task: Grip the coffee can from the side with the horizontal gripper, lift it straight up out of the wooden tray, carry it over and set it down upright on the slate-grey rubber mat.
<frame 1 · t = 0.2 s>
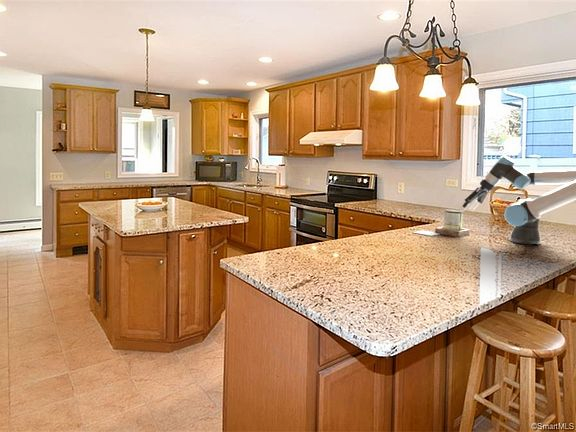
hand: (465, 210, 241), 15 cm above the worktop, tool tilted 35°, fingers open, 13 cm apart
coffee can: (452, 234, 249), resting in wooden tray
wooden tray: (452, 233, 249), on the worktop
rubber mat: (426, 233, 246), on the worktop
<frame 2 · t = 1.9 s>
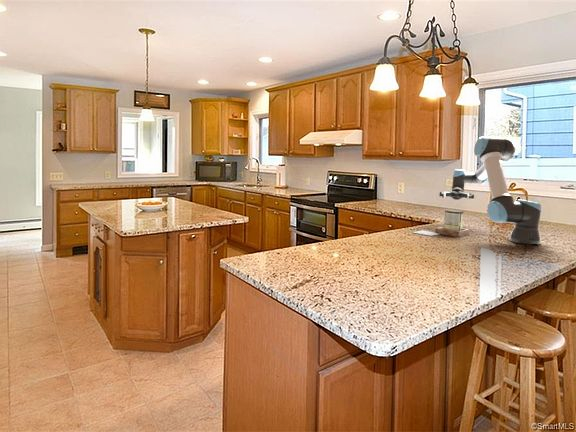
hand: (456, 196, 255), 22 cm above the worktop, tool horizontal, fingers open, 13 cm apart
nothing on the worktop moved.
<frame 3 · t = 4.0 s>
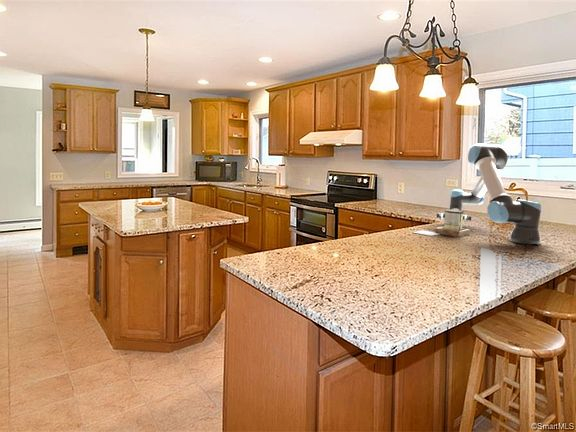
hand: (453, 218, 254), 8 cm above the worktop, tool horizontal, fingers open, 13 cm apart
nothing on the worktop moved.
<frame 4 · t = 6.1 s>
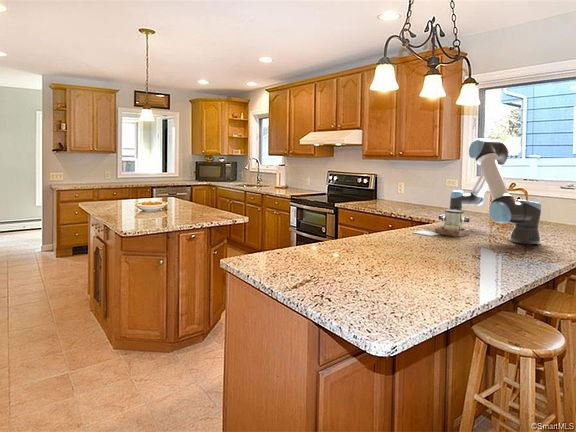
hand: (453, 220, 244), 9 cm above the worktop, tool horizontal, fingers closed on coffee can, 10 cm apart
coffee can: (452, 234, 249), resting in wooden tray, touching gripper
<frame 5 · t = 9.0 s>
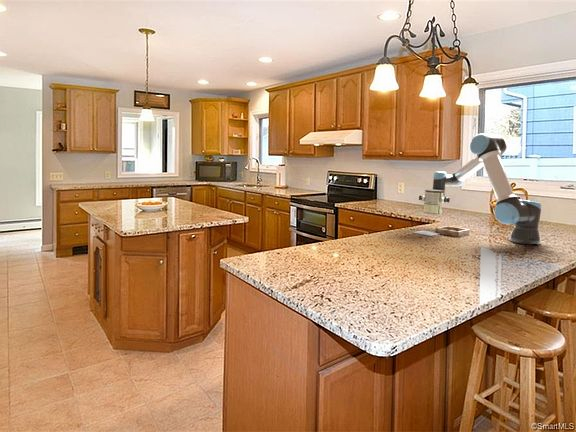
hand: (432, 200, 241), 20 cm above the worktop, tool horizontal, fingers closed on coffee can, 10 cm apart
coffee can: (432, 214, 246), point 12 cm above the worktop, touching gripper
when the fingers open (10 cm above the worktop, at t = 12.1 s): coffee can drops 1 cm, resting on rubber mat.
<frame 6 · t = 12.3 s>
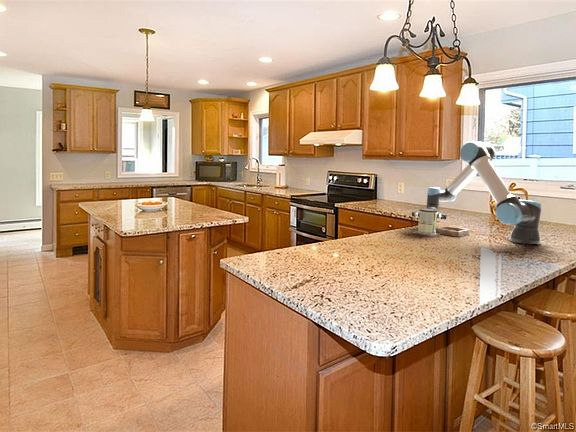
hand: (427, 217, 241), 10 cm above the worktop, tool horizontal, fingers open, 12 cm apart
coffee can: (426, 233, 246), resting on rubber mat
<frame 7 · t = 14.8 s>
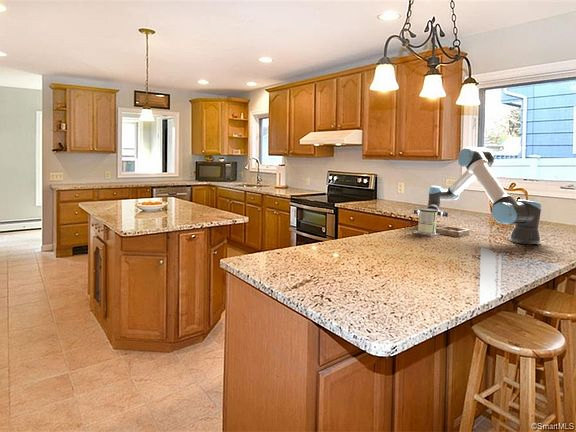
hand: (429, 214, 253), 10 cm above the worktop, tool horizontal, fingers open, 13 cm apart
nothing on the worktop moved.
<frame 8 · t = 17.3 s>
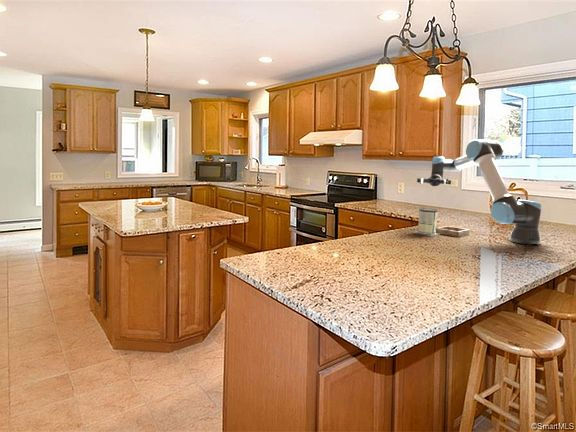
hand: (432, 181, 254), 30 cm above the worktop, tool horizontal, fingers open, 13 cm apart
nothing on the worktop moved.
at the end: coffee can inside the target area on the rubber mat (0.1 cm from its centre), point 0.2 cm above the rubber mat's base; coffee can tilted 0°; the gripper is holding nothing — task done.
